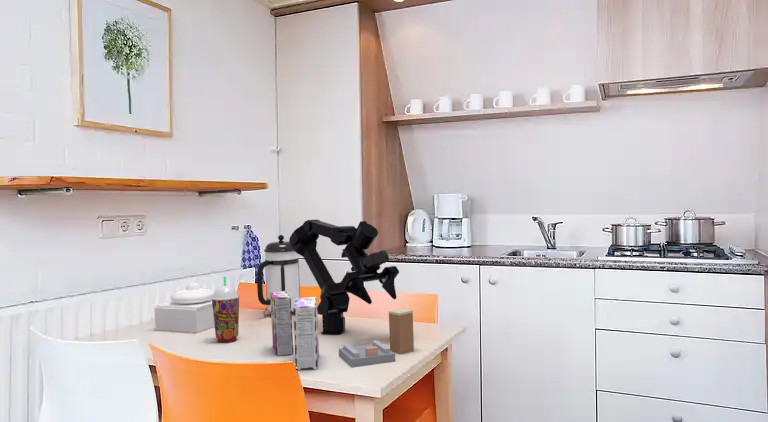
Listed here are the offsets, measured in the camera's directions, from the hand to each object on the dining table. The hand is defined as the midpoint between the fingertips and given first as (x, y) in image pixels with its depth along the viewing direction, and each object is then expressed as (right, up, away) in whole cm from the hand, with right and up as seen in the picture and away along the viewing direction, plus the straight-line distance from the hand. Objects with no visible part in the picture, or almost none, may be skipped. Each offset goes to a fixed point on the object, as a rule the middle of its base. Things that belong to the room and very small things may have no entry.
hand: (383, 300), depth 171 cm
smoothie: (-49, -15, +14) cm, 53 cm away
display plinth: (-5, -14, -12) cm, 19 cm away
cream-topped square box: (+5, -13, -5) cm, 15 cm away
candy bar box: (-29, -14, -1) cm, 32 cm away
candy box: (-20, -15, -14) cm, 28 cm away
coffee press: (-38, -13, +52) cm, 65 cm away
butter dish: (-66, -15, +37) cm, 77 cm away
